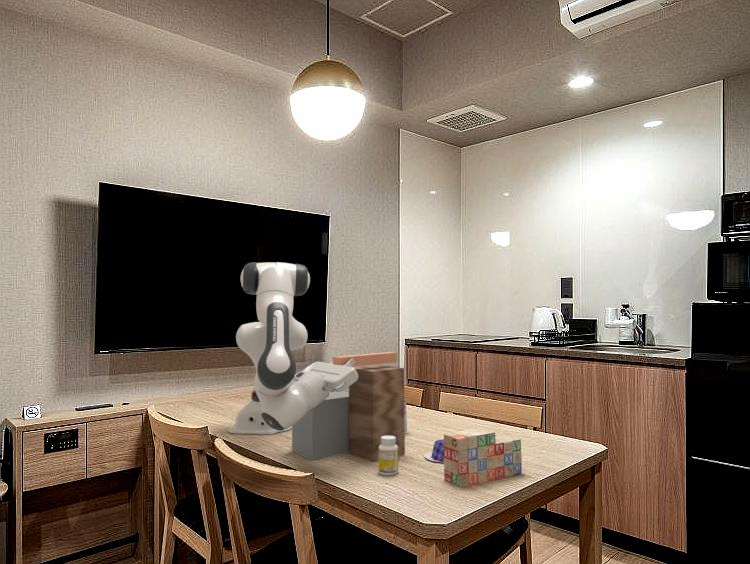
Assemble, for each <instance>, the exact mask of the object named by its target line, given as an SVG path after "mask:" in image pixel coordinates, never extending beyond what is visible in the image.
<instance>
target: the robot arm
mask: <svg viewBox="0 0 750 564" xmlns="http://www.w3.org/2000/svg"><path fill="white" fill-rule="evenodd" d="M310 275H311V274H310V273H309V271H308V267H306V265H304V264H299V263H295V264H294V263H289V262H278V261H276V262H269V261H268V262H267V261H266V262H256V261H255V262H253V261H252V262H248V263H246V264H245V265H244V266H243V269H242V271H241V274H240V283H241V287H242V290H243V291H244V292H245V293H246V294H248V295H253V296H255V295H256V302H255V305H256V306H255V308H256V316H257V320H258V321H254V322H248V323H244V324H242V325H240V326H239V328H238V329H237V331H236V333H235V334H236V335H235V341H236V344H237V346H238V348H239V349H240V350H241V351H242V352H244V353H245V354H246V355H247V356H248V357H249V358H250V360H251V361H252V363H253V365H254V367H255V371H256V372H255V376H254V380H253V390H252V391H251V396H250V397H251V400H250V402H248V403H247V404H246V405H244V406H243V407H242V408H241V409H239V411H238V412H237V414H236V417H235V423H233V424H232V425H230V426H229V428H228V432H229V433H230V434H238V435H239V434H244V435H248V434H249V435H273V434H277V433H281V432H286V431H288V430H289V431H290V430H292V425H294V424H295V423H297V422H298V421H299V420H300V419H302V418H303V417H304V416H305V415H306V414H307V412H308V411H309V410H310V409H312V408H315V407H316V406H317V405H319V404H320V403H321V402H322V401H323V400H325V399H326V398H327V397H328V396H329V392H335V391H336V392H340V391H345V390H346V389H347V388H349V386H350V385H352V384H353V383H354V382H355V381H357V380H358V377H359V376H358V374H357V372H356V370H355V368H354V367H352V366H353V365H354V364H355V363H356V362H355V360H354V359H352V358H350V359H349V360H347V363H346V365H345V364H344V365H343V366H342V365H336V364H333V361H331V362H323V361H315V362H313V363H311V364H310V365H308V366H307V367H305V368H304V369H303V370H302V371H298V372H297V364H296V360H295V357H294V356H293V353H292V351H297V350H301V349H303V348H304V347H305V346H306V344H307V341H308V338H309V337H308V335H309V334H308V330H307V329H306V326H305V325H304V324H303V323H302V322H300V321H298V320H297V319H296V318H294V316H293V311H294V297H299V296H303V295H305V293H307V291H308V289H309V287H310V283H311V276H310ZM294 378H295V379H294ZM293 379H294V380H295V381H293Z"/></svg>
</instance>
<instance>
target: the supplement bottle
mask: <svg viewBox="0 0 750 564" xmlns="http://www.w3.org/2000/svg"><path fill="white" fill-rule="evenodd" d="M395 442H396V437H394V436H382V437H381V443H382V444H381V445H380V446H379V461H378V473H379V474H380V475H382V476H391V477H392V476H396V475H397V474H398V473H399V456H398V446H397V445H396V444H395Z"/></svg>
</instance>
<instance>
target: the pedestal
mask: <svg viewBox="0 0 750 564" xmlns="http://www.w3.org/2000/svg"><path fill="white" fill-rule="evenodd" d="M291 451H292V453H295V454H297V455H299V456H302V457H305V458H307V459H310V460H312V461H314V460H319V458H320V459H323V458H324V459H325V458H328V457H334V456H337V454H338V455H342V453H343V454H347V452H348V453H349V391H345V390H342V391H340V392H336V391H335V392H330V391H329V396H328V397H327V398H326V399H325V400H323V401H322V402H321V403H320V404H319V405H317V406H316V407H315V408H312V409H310V410H309V411H308V412H307V414H306V415H305V416H304V417H303V418H302V419H300V420H299V421H298V422H297V423H295V424H294V425H292V428H291ZM333 455H334V456H333Z"/></svg>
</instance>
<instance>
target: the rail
mask: <svg viewBox="0 0 750 564" xmlns="http://www.w3.org/2000/svg"><path fill="white" fill-rule="evenodd" d="M397 356H398V353H397V352H394V351H386V352H373V353H364V354H363V353H362V354H361V353H360V354H353V355H352V354H350V355H340V356H339V355H338V356H332V362H333V364H336V365H342V366H343V365H344V364H345V365H346V363H347V360H349V359H350V358H352V359H354V360H355V362H356V363H355V364H354V365H353V366H352V367H363V366H373V365H384V364H393V363H398V361H397V359H398V357H397Z"/></svg>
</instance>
